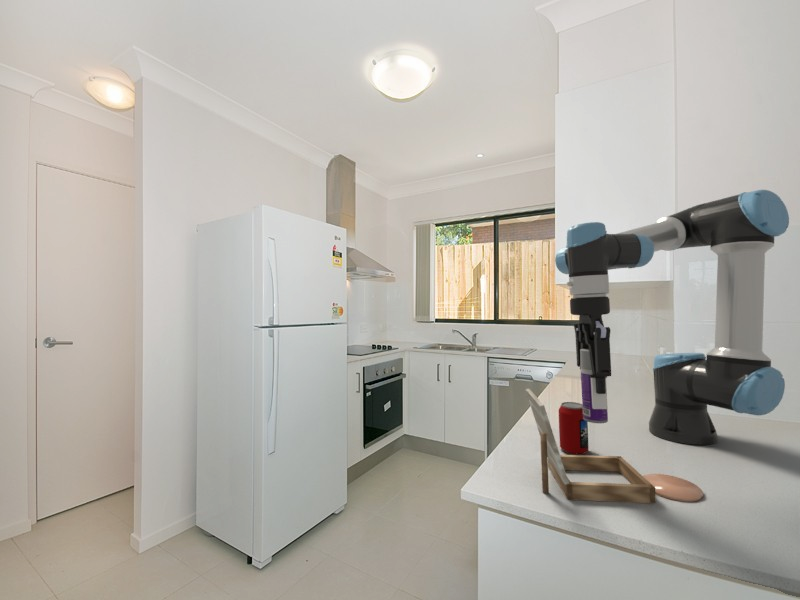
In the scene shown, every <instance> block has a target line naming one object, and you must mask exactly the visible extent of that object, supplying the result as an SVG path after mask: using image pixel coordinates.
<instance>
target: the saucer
mask: <svg viewBox="0 0 800 600" xmlns="http://www.w3.org/2000/svg"><path fill="white" fill-rule="evenodd" d="M642 476H643V477H644V478H645V479H646V480H648V481H649V482H650V483H651V484H652V485H653V486H654V487H655V495H656V496H660V497H661V498H664V499H669V500H671V501H677V502H690V503H691V502H699V501H701V500H702V499H703V498H704V492H703V490H702V489H701V487H700V486H698V485H697V484H695V483H694V482H692V481H689V480H687V479H684V478H681V477H677V476H673V475H669V474H664V473H663V474H662V473H649V474H645V475H642Z"/></svg>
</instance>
